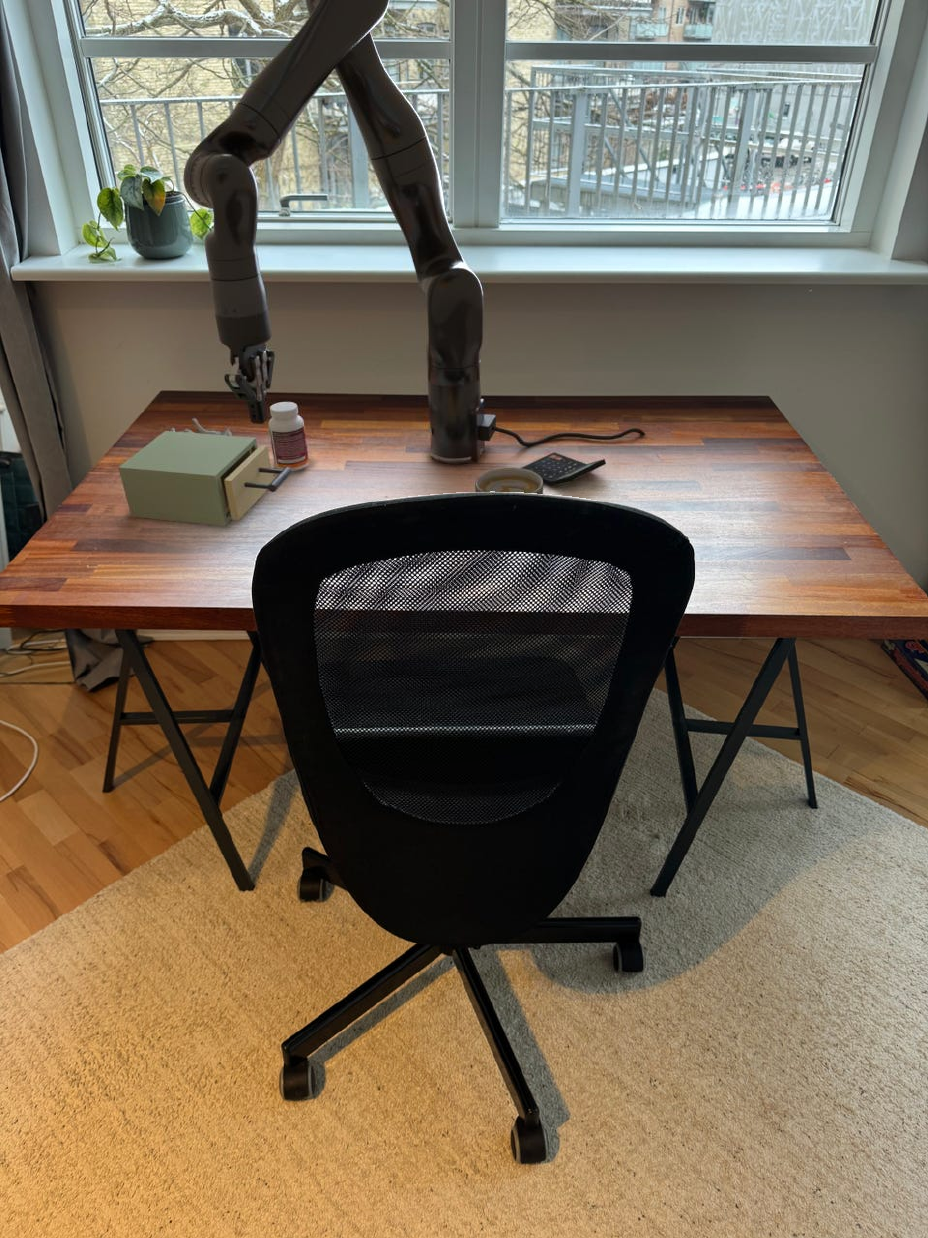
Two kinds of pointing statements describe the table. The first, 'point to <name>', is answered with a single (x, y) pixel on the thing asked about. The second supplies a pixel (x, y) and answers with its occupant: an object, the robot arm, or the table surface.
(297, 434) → the pill bottle
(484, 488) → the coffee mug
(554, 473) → the calculator
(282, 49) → the robot arm
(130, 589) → the table surface
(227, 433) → the soldier figure
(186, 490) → the cabinet
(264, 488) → the drawer
